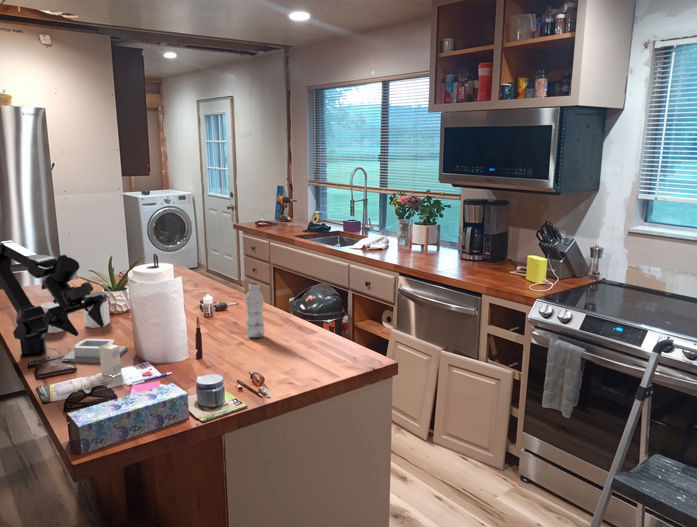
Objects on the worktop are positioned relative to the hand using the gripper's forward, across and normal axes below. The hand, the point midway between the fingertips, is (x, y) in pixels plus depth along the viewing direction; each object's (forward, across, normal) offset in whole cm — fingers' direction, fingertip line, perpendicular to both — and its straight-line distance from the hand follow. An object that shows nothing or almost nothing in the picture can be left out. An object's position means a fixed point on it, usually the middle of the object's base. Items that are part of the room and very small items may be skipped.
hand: (90, 330), depth 169 cm
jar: (-15, +30, +33) cm, 47 cm away
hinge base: (+3, +8, +15) cm, 17 cm away
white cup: (-21, +19, +39) cm, 48 cm away
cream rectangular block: (+14, 0, +4) cm, 15 cm away
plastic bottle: (+29, +47, -11) cm, 56 cm away
